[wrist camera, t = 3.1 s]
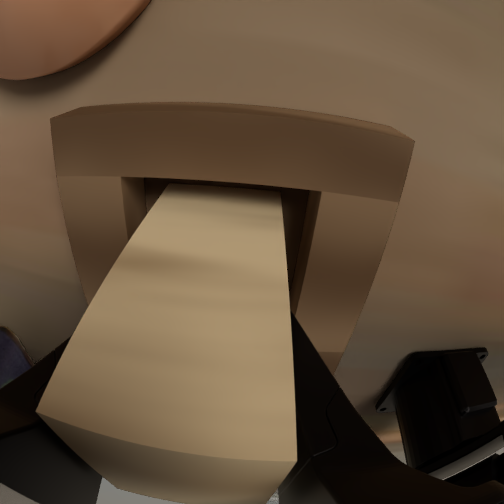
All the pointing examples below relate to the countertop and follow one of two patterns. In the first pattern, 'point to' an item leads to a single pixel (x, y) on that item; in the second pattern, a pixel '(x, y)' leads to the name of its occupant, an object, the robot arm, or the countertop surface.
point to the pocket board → (240, 171)
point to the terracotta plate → (58, 33)
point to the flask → (12, 357)
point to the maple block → (187, 355)
